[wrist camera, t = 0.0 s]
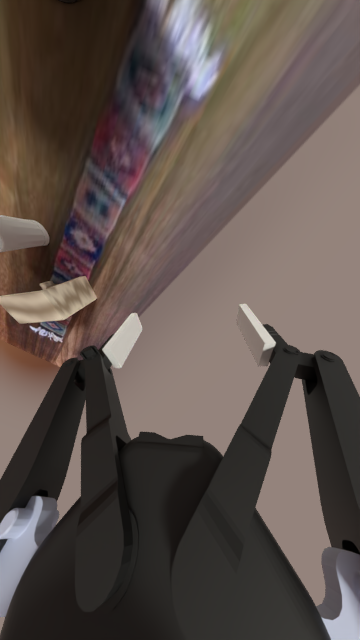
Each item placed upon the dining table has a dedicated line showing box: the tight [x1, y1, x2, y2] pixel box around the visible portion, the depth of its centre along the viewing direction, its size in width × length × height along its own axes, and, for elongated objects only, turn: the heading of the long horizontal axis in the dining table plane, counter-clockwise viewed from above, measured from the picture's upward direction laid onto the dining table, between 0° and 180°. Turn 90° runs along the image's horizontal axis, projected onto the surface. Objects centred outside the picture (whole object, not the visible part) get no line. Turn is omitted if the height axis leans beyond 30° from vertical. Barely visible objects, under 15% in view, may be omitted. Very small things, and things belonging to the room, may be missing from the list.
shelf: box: [0, 276, 97, 324], centre depth 41 cm, size 8×16×15 cm, turn 98°
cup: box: [0, 215, 49, 252], centre depth 33 cm, size 8×8×12 cm
